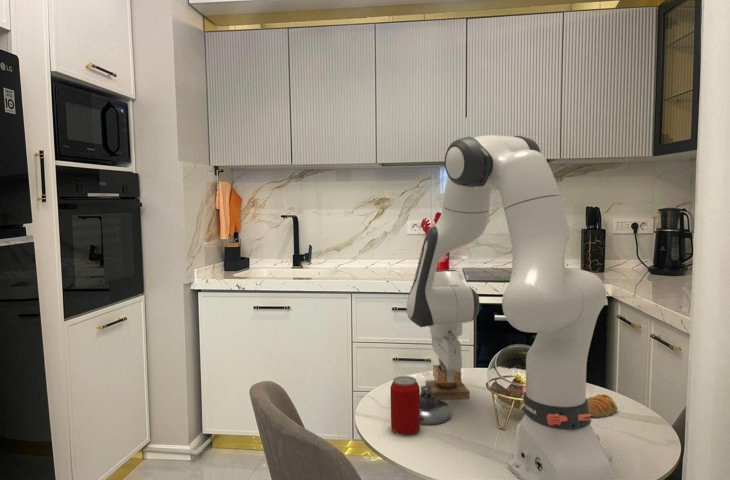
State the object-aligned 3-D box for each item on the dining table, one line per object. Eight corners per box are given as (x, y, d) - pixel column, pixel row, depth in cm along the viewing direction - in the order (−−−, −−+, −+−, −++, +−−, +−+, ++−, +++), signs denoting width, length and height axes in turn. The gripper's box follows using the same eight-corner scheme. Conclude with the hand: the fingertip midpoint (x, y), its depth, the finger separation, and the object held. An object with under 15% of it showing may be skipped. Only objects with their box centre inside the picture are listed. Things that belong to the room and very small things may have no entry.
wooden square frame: (461, 382, 136) (461, 371, 136) (437, 383, 136) (437, 372, 136) (455, 374, 143) (455, 364, 142) (432, 375, 142) (432, 365, 142)
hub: (460, 417, 123) (460, 389, 123) (423, 429, 117) (423, 400, 116) (428, 402, 133) (428, 376, 133) (392, 412, 127) (392, 385, 126)
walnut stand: (469, 399, 135) (469, 368, 134) (432, 400, 134) (432, 369, 134) (459, 385, 145) (459, 357, 144) (425, 387, 144) (425, 358, 144)
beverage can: (419, 424, 120) (419, 375, 119) (420, 437, 113) (419, 385, 112) (391, 423, 120) (390, 374, 119) (390, 436, 114) (389, 384, 113)
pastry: (600, 422, 120) (600, 406, 119) (573, 413, 125) (573, 398, 125) (619, 412, 125) (619, 397, 125) (593, 404, 131) (593, 390, 130)
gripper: (467, 336, 128) (467, 389, 129) (448, 319, 149) (448, 364, 149) (443, 337, 128) (443, 390, 129) (427, 319, 148) (428, 365, 149)
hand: (446, 376), depth 139 cm, fingers closed on wooden square frame, 6 cm apart
